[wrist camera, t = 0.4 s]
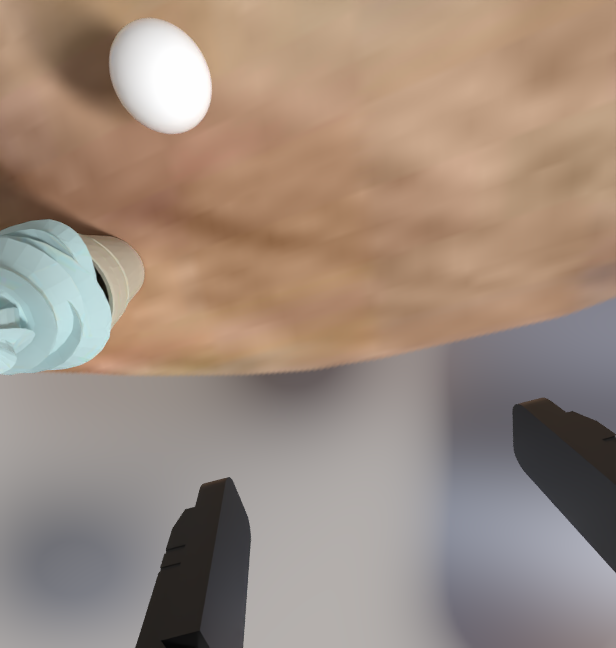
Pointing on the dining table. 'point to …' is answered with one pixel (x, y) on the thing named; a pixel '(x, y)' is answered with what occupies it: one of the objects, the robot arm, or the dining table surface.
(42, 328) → the ice cream cone
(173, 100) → the lightbulb
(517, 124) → the dining table surface
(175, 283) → the dining table surface
